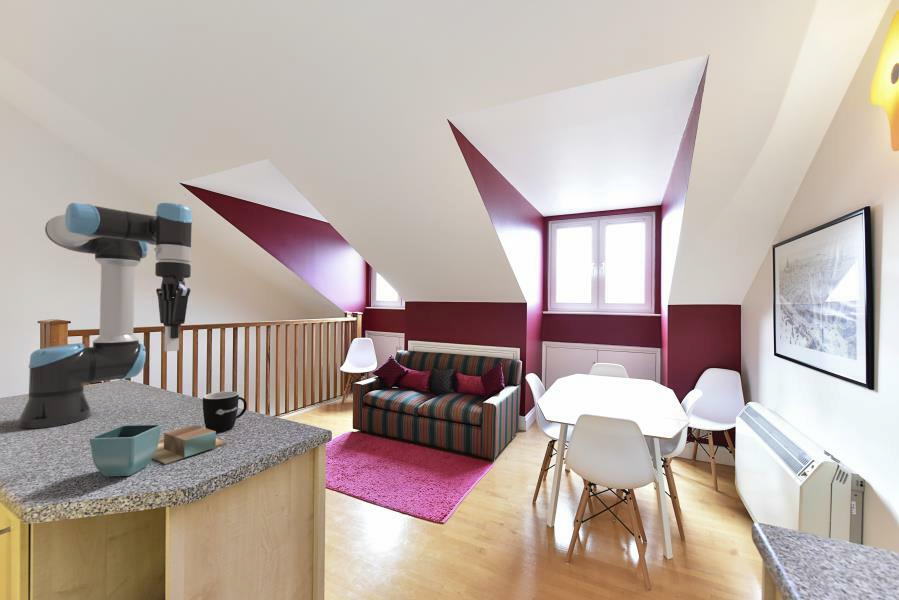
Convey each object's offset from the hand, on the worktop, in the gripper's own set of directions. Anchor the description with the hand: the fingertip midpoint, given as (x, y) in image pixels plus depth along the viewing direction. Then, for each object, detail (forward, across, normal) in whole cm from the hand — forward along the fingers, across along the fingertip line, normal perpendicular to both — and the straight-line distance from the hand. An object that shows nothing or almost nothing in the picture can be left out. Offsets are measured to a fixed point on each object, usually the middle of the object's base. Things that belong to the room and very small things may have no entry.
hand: (171, 350), depth 97 cm
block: (+22, +5, 0) cm, 22 cm away
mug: (+25, +1, +14) cm, 28 cm away
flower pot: (+25, +11, -13) cm, 30 cm away
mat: (+24, +5, 0) cm, 25 cm away
